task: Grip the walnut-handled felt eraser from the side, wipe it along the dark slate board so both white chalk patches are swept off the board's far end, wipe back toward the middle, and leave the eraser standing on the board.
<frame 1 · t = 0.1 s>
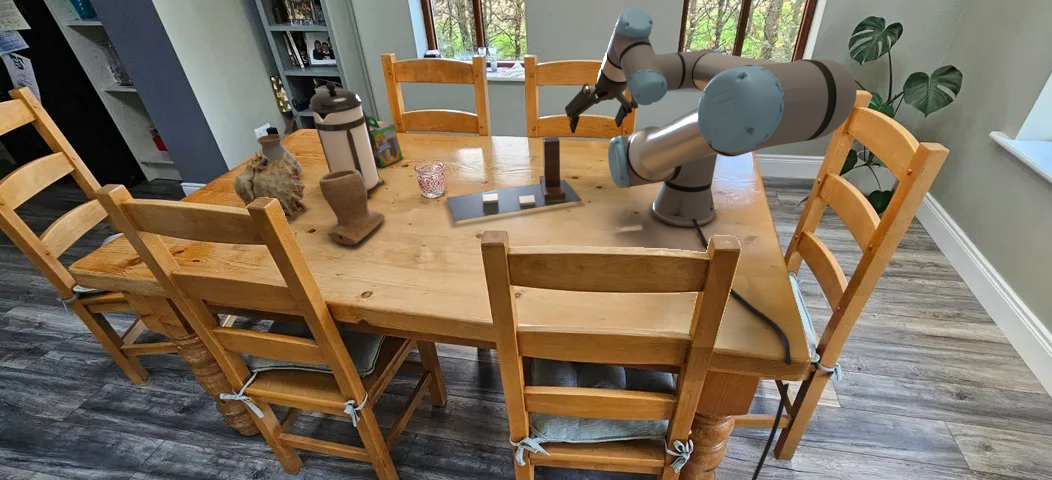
hand: (594, 126, 136), 15 cm above the table, tool tilted 35°, fingers open, 13 cm apart
chalk box: (383, 161, 158), on the table
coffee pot: (293, 173, 152), on the table
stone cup: (355, 231, 121), on the table
chalk patch a: (527, 201, 129), point 1 cm above the table, touching slate board
slate board: (513, 203, 132), on the table
chalk patch b: (490, 199, 131), point 1 cm above the table, touching slate board
coffee press: (360, 188, 142), on the table
eraser: (552, 192, 133), point 1 cm above the table, touching slate board
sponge: (647, 153, 159), on the table
seashell: (281, 215, 129), on the table
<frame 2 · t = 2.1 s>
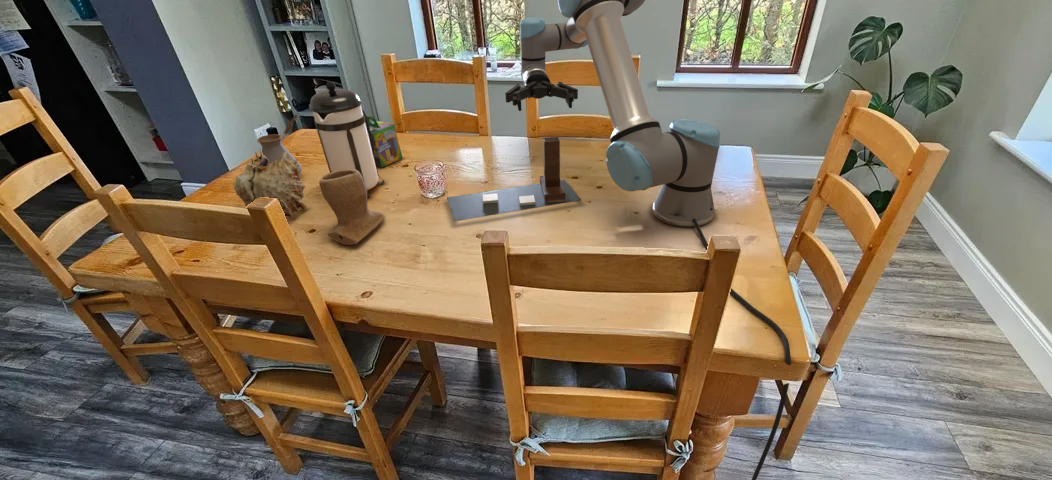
hand: (545, 104, 129), 23 cm above the table, tool horizontal, fingers open, 13 cm apart
nothing on the table moved.
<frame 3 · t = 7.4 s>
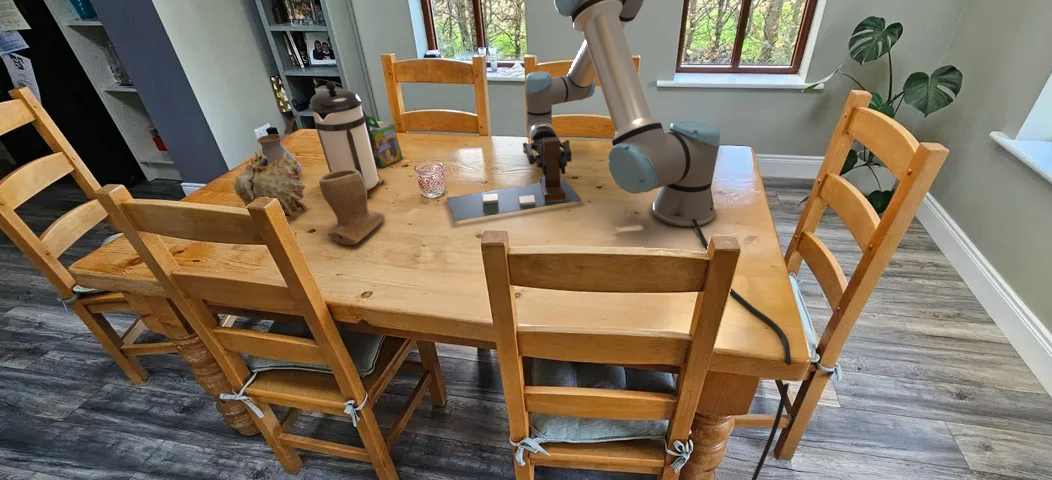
hand: (554, 169, 124), 10 cm above the table, tool horizontal, fingers closed on eraser, 4 cm apart
eraser: (552, 192, 133), point 1 cm above the table, touching gripper, slate board
everything else where it was.
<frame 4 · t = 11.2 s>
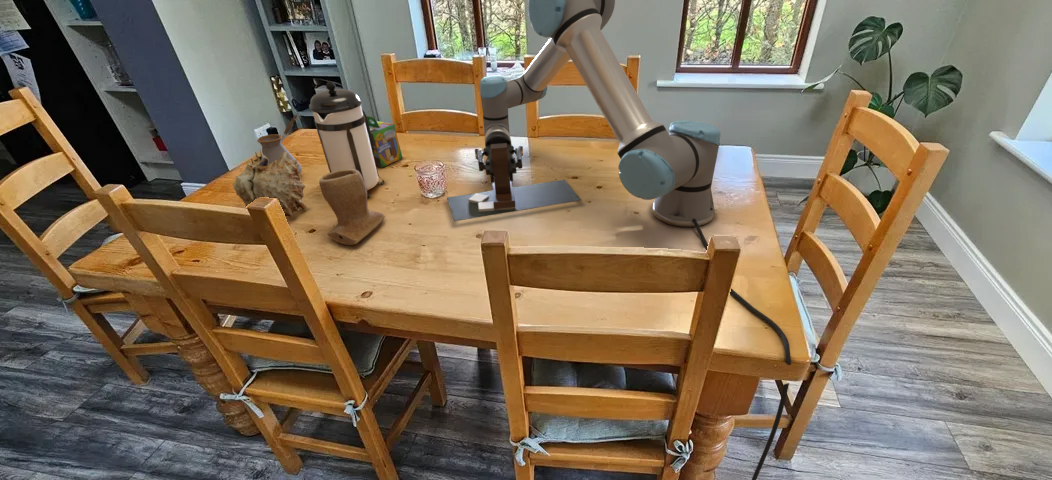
hand: (501, 176, 121), 11 cm above the table, tool horizontal, fingers closed on eraser, 4 cm apart
chalk patch a: (486, 207, 127), point 2 cm above the table
chalk patch b: (478, 200, 131), point 1 cm above the table, touching slate board
eraser: (503, 199, 130), point 2 cm above the table, touching gripper
everything else where it was.
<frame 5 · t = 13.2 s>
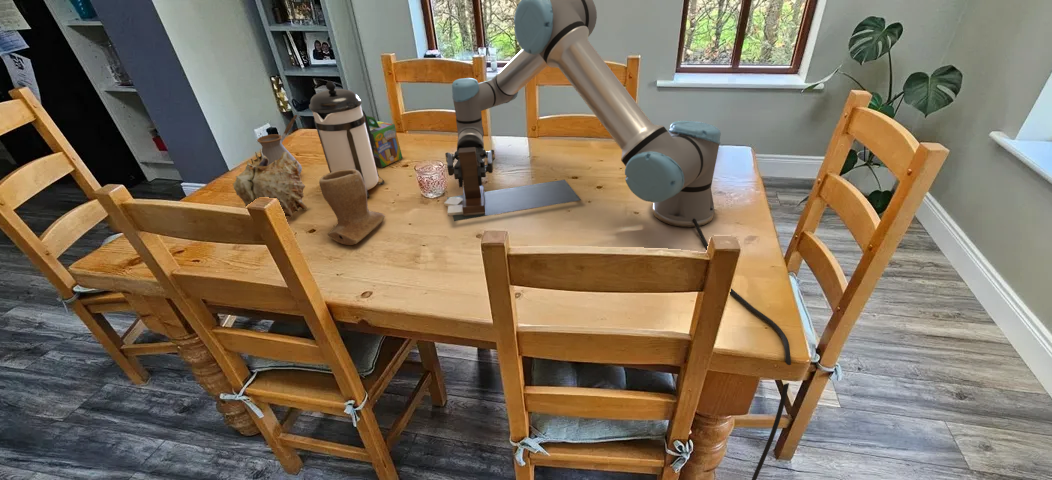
hand: (470, 181, 119), 11 cm above the table, tool horizontal, fingers closed on eraser, 4 cm apart
chalk patch a: (455, 211, 126), point 1 cm above the table, touching slate board
chalk patch b: (454, 203, 129), point 1 cm above the table, touching eraser, slate board
eraser: (474, 204, 128), point 2 cm above the table, touching chalk patch b, gripper
everything else where it was.
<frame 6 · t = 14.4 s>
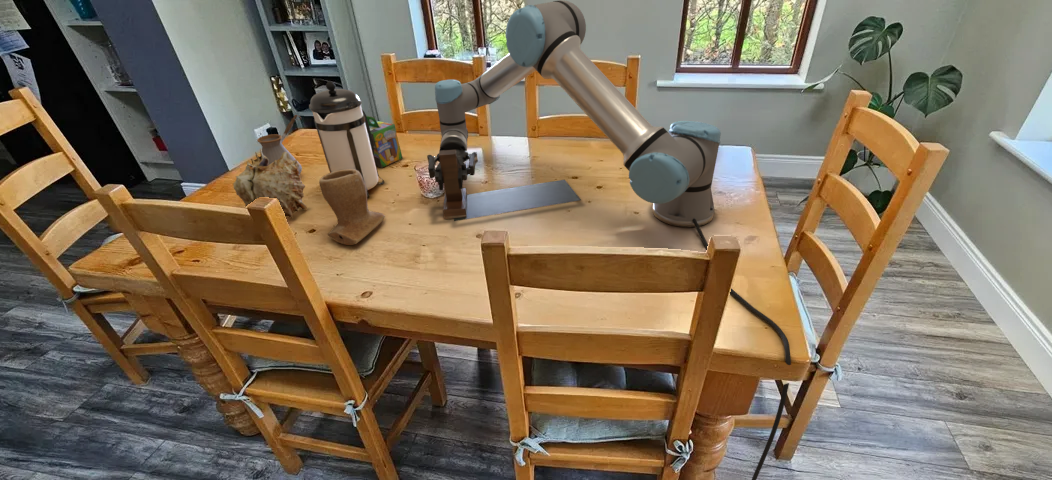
hand: (450, 184, 118), 11 cm above the table, tool horizontal, fingers closed on eraser, 4 cm apart
chalk patch a: (442, 218, 126), on the table
chalk patch b: (440, 212, 129), on the table
eraser: (456, 207, 127), point 2 cm above the table, touching gripper
everything else where it was.
when the fingers open (11 cm above the table, at t = 17.1 s): eraser stays where it is, resting on slate board.
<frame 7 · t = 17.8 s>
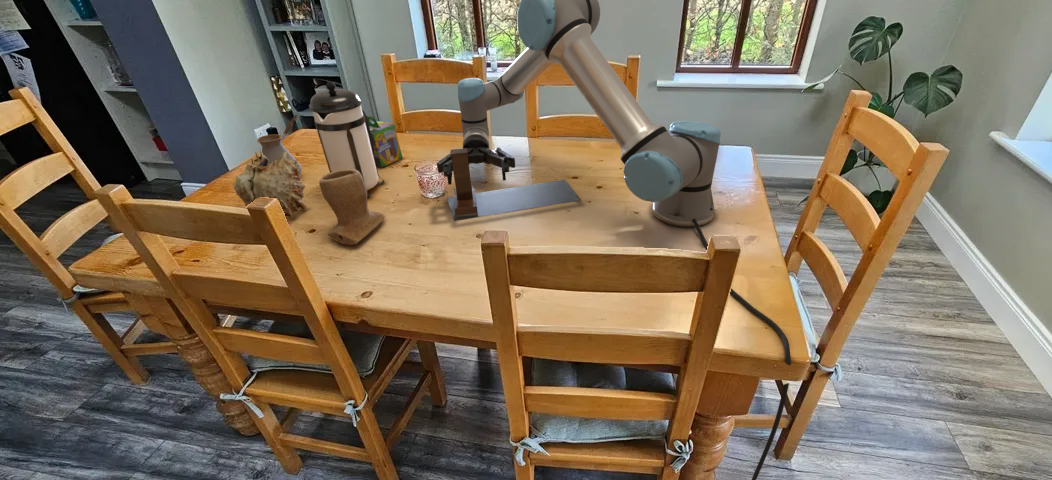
hand: (476, 177, 121), 10 cm above the table, tool horizontal, fingers open, 13 cm apart
eraser: (466, 205, 128), point 1 cm above the table, touching slate board
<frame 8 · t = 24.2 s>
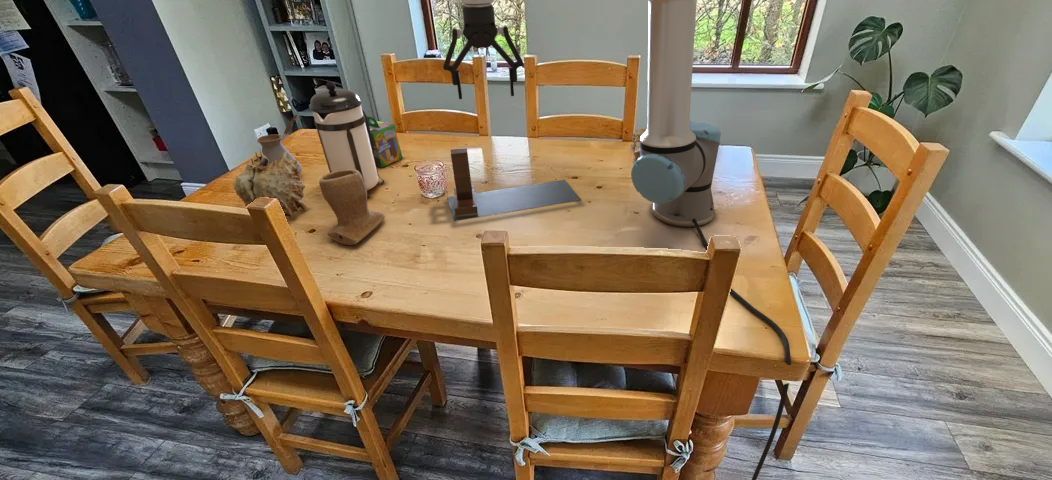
hand: (486, 96, 129), 25 cm above the table, tool pointing down, fingers open, 13 cm apart
nothing on the table moved.
at the end: chalk patch a inside the target area (7.3 cm from its centre), on the table; chalk patch b inside the target area (7.0 cm from its centre), on the table; eraser inside the target area (4.7 cm from its centre), point 1.5 cm above the table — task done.
